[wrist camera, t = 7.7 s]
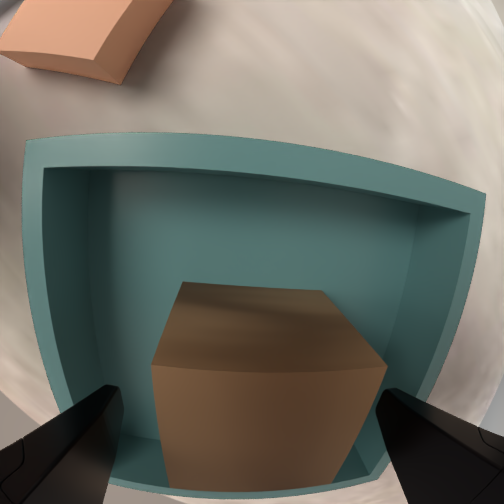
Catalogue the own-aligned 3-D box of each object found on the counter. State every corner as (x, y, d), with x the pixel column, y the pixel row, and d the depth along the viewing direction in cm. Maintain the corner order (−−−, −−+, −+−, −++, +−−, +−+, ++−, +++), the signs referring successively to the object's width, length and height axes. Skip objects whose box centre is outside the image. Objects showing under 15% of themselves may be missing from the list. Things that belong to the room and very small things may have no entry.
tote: (111, 426, 12) (92, 478, 8) (85, 151, 9) (26, 140, 5) (353, 432, 14) (377, 479, 10) (420, 187, 11) (486, 193, 7)
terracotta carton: (28, 68, 8) (-7, 50, 5) (80, -12, 7) (57, -41, 4) (122, 86, 9) (93, 60, 6) (179, -4, 8) (170, -44, 5)
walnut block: (183, 391, 11) (170, 487, 6) (182, 281, 10) (150, 364, 5) (298, 394, 11) (330, 483, 7) (321, 290, 10) (388, 366, 6)
